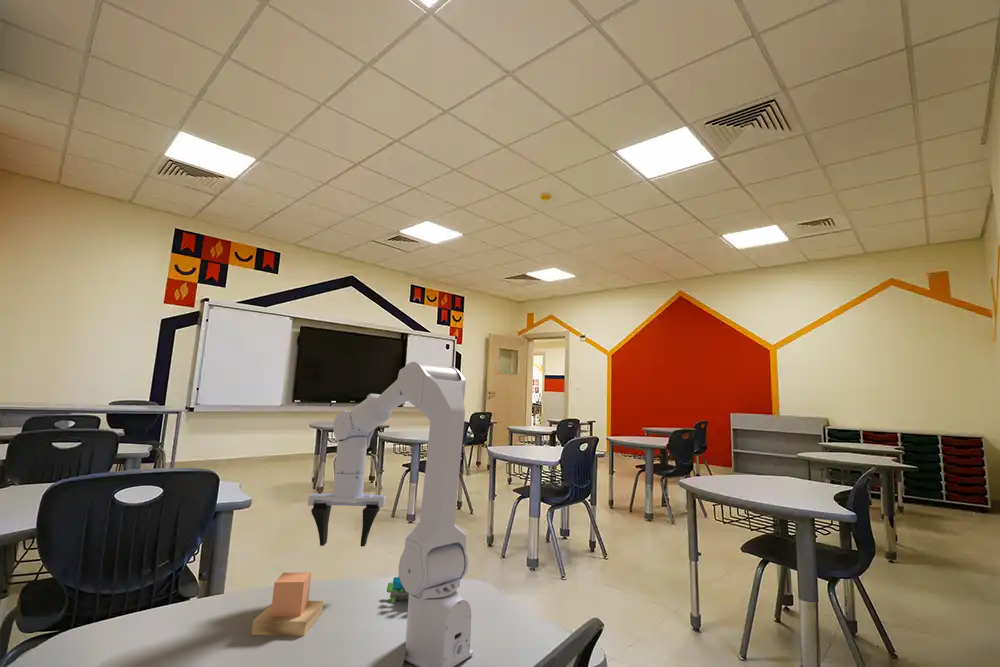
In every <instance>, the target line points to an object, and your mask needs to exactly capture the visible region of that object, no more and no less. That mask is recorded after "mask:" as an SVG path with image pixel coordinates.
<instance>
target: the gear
mask: <svg viewBox="0 0 1000 667" xmlns="http://www.w3.org/2000/svg"><path fill="white" fill-rule="evenodd" d="M386 593H388V594H390V595H389V598H390V599H391V602H390V603H396V600H408V599H409V593H408V592H406V591H405V589H404V587H403V585H402V583H401V581H400V578H399V575H398V577H397V576H394V577H393V579H392V582H389V583H387V588H386Z"/></svg>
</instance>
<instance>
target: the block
mask: <svg viewBox="0 0 1000 667" xmlns="http://www.w3.org/2000/svg"><path fill="white" fill-rule="evenodd" d="M311 580H312V572H311V571H310V572H307V571H306V572H282V573H281V574H280V576H278V578H277V579H276V580H275V581H274V583H273V591H272V601H271V604H272V608H271V617H281V616H301V615H302V613H303V612H304V610H305V608H306V607H307V605H308V601H310V599H309V598H310V591H311V590H310V589H311Z"/></svg>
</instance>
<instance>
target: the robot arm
mask: <svg viewBox="0 0 1000 667" xmlns="http://www.w3.org/2000/svg"><path fill="white" fill-rule="evenodd" d="M466 386H467V380H466V378H465V377H464V375H463V374H462V372H460V370H459V369H458V368H456V367H454V366H441V365H436V364H435V365H434V364H426V363H420V362H417V361H410V362H408V363H407V364H406V365H405V366H404V367H402V368H401V369H399V372H398V374H397V379H395V381H394V382H393V383H391V385H389V386H388V387H387V389H385V390H384V391H383V392H382V393H380V394H378V393H369V394H368V395H367V396H366V398H365V399H364V400H362V401H361V402H360V403H359V404H356V405H355V406H354V408H352V409H351V410H346V409H341V410H339V411H338V412H337V413H336V416H335V417H334V419H333V424H332V425H333V428H332V430H333V434H334V437H335V439H337V445H336V455H335V467H334V468H335V469H334V475H333V476H334V479H333V485H332V486H333V489H332V492H331V493H330V492H329V493H326V492H325V493H311V494H309V495H308V499H307V506H309V507H310V506H311V507H312V508H311V515H312V517H313V519H314V521H315V525H316V528H317V532H318V539H319V546H320V547H324V546H325V545H326V544H327V542H328V537H329V536H328V535H329V534H328V533H329V521H330V515H331V510H332V506H343V507H344V506H349V507H350V506H351V507H364V508H363V509H362V528H361V529H362V531H361V536H360V547H361V548H362V547H363V548H364V547H365V546H366V545H367V544H368V543H367V542H368V537H369V535H370V531H371V529H372V528H371V527H372V525H373V523H374V521H375V519H376V517H377V515H378V513H379V510H380V508H384V507H385V506H386V499H387V497H386V495H385V494H384V495H383V494H382V495H381V494H373V493H372V494H370V493H364V488H365V487H364V485H365V474H366V462H367V449H369V448H370V446H371V439H372V437H373V436H374V432H375V429H376V428H378V427H380V425H382V424H384V423H385V422H386V421H388V420H389V419H390V418H391V416H392V412H393V410H394V409H395V408H397V407H399V406H401V405H402V404H404V403H406V402H409V403H410V404H411V405H413V406H414V407H415V408H416V409H417V410H418V411H420V412H421V413H424V415H425V416H426V418H427V419H428V420H429V432H428V442H427V451H426V461H425V462H426V463H425V470H424V478H423V479H424V480H423V487H422V488H423V489H422V498H421V506H420V507H421V509H420V518H419V522H418V523H417V525H416V526H415V527H414V528H413V529H412V530H411V532H410V533H409V534H408V535H407V536H406V538H405V541H404V548H403V552H402V554H401V555H400V558H399V562H398V576H399V578H400V581H401V583H402V585H403V587H404V589H405V591H406V592H408V593H409V599H407V600H408V601H407V602H408V603H407V616H406V618H407V620H406V633H405V648H406V652H405V655H404V659H403V660H404V661H406V662H407V663H409V664H411V665H413V664H414V665H413V666H415V667H417V666H418V667H455V666H457V665H458V664H460V663H462V662H463V661H465V660H467V659H468V658H470V657H471V656H473V655H474V650H472V649H471V635H472V633H471V632H472V631H471V630H472V608H471V604H470V603H469V601H467V600H466V599H465V598H463V597H462V596H461V595H460V594H459V592H458V591H457V589H458V588H460V587H461V580H462V579H463V578H464V577H466V574H467V573H468V572H467V571H468V568H469V556H468V551H467V534H465V532H464V531H463V530H462V529H461V528H460V527H459V526H457V525H456V524H455V521H456V512H457V501H458V500H457V499H458V492H459V483H460V482H459V479H460V469H461V461H462V460H461V458H462V449H463V448H462V447H463V439H464V438H463V437H464V427H465V418H466V417H465V416H466V410H465V396H466V395H465V394H466Z"/></svg>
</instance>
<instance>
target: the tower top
mask: <svg viewBox="0 0 1000 667" xmlns="http://www.w3.org/2000/svg"><path fill="white" fill-rule="evenodd" d="M323 605H324V600H309V601H308V605H307V607H306V608H305V610H304V612H303V613H302V615H301V616H281V617H271V608H272V603H271V604H270V605H268V606H267V608H265V609H264V610H263V611H262V612H261V613H260V614H259V615H257V616H256V617H255V618H254V619H253V620H252V629H251V636H289V637H290V636H291V637H293V636H295V637H297V636H298V637H302V636H303V637H305V636H306V634H307V633H308V632H309V630H310V629H311V628H312V627H313V625H314V624H315V623H316V622H317V621H318V620H319V618H320V617H321V616H322V614H323V609H324V608H323V607H324V606H323Z"/></svg>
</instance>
